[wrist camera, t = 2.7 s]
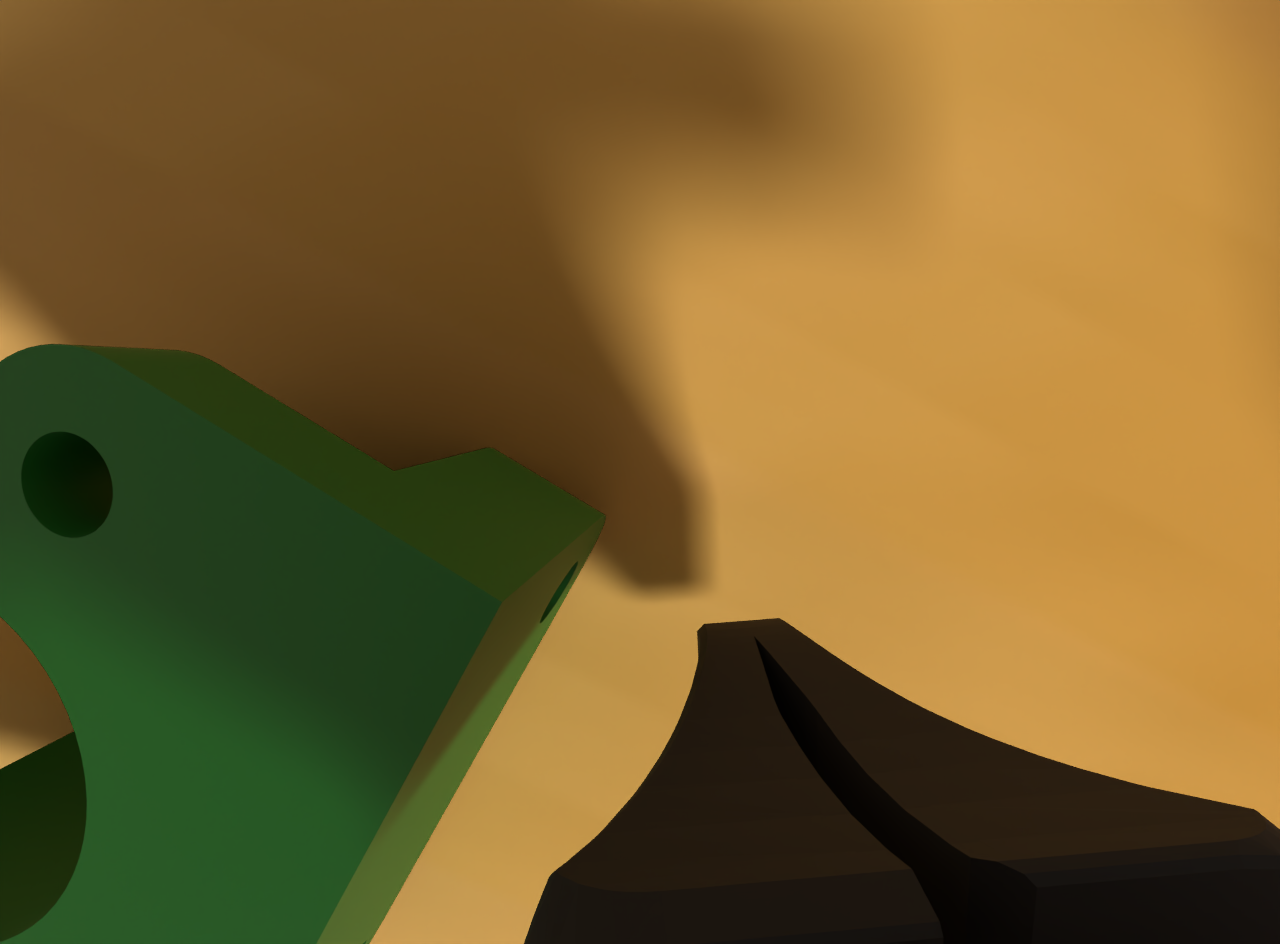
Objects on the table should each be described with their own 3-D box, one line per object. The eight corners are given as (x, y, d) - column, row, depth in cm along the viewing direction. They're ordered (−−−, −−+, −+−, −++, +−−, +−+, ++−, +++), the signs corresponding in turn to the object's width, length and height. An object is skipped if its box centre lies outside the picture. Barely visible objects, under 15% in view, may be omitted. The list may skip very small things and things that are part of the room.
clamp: (388, 416, 16) (118, 164, 7) (608, 548, 16) (599, 446, 7) (33, 913, 14) (-994, 1415, 5) (281, 1089, 13) (-376, 1990, 5)
